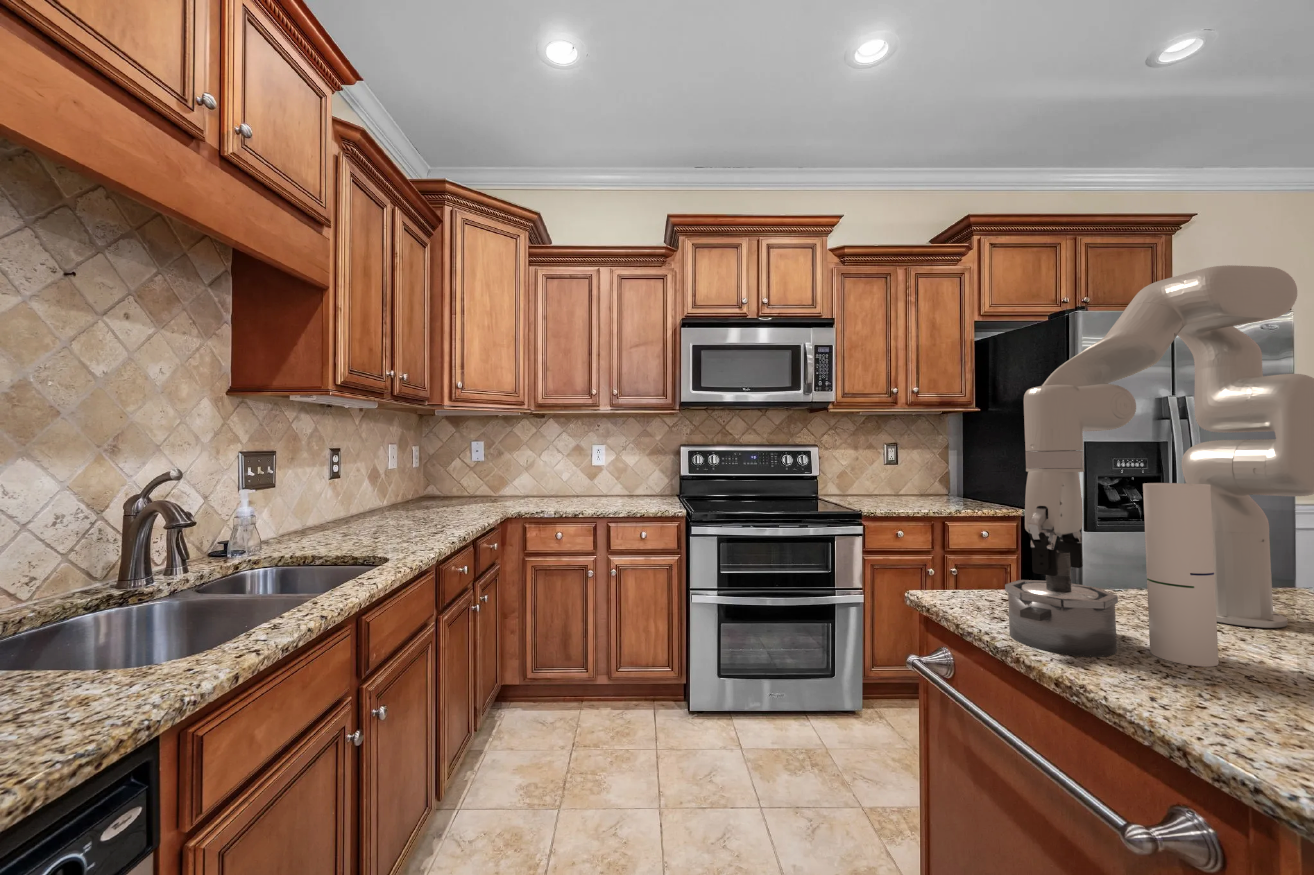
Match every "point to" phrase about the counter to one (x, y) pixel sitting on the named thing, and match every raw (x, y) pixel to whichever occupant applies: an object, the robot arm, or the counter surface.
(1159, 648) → the cylindrical container
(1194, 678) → the counter surface
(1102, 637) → the pot
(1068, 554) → the lid
